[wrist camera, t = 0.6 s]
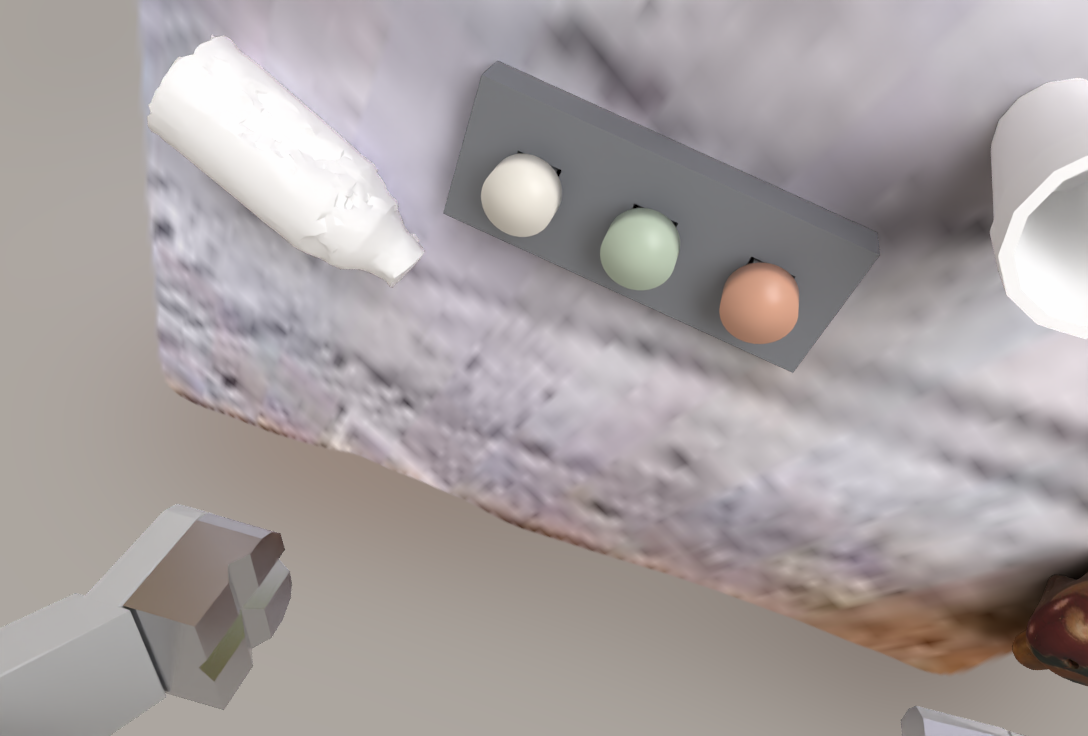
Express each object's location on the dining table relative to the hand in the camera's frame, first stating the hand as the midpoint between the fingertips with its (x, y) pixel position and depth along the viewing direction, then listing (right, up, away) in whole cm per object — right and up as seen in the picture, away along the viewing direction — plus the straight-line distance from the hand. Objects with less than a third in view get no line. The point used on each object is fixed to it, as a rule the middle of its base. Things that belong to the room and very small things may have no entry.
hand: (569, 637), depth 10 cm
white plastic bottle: (-16, +20, +46) cm, 53 cm away
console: (+7, +14, +42) cm, 45 cm away
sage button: (+7, +13, +41) cm, 43 cm away
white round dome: (-1, +16, +41) cm, 44 cm away
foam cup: (+28, +16, +33) cm, 46 cm away
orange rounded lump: (+14, +10, +41) cm, 44 cm away
